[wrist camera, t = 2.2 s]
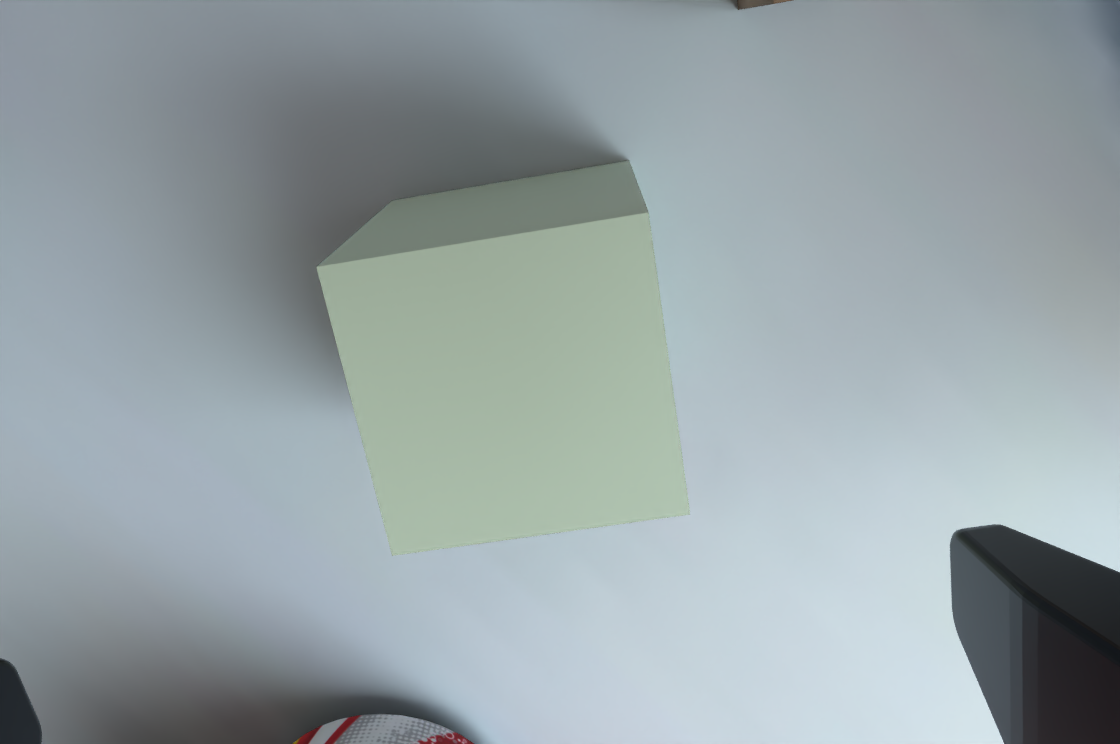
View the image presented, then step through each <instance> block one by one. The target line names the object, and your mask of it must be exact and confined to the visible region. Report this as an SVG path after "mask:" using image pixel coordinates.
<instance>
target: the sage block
mask: <svg viewBox="0 0 1120 744" xmlns="http://www.w3.org/2000/svg"><path fill="white" fill-rule="evenodd" d="M316 268H317V272H318V276H319V279H320V283H321V287H322V291H323V295H324V298H325V302H326V306H327V310H328V314H329V318H330V321H331V325H332V329H333V333H334V337H335V340H336V344H337V348H338V352H339V356H340V359H341V363H342V367H343V371H344V375H345V378H346V382H347V386H348V390H349V394H350V397H351V401H352V405H353V409H354V413H355V416H356V420H357V424H358V428H359V432H360V435H361V439H362V443H363V447H364V451H365V454H366V458H367V462H368V466H369V470H370V473H371V477H372V481H373V485H374V489H375V492H376V496H377V500H378V504H379V508H380V511H381V515H382V519H383V523H384V527H385V530H386V534H387V538H388V542H389V546H390V549H391V553H392V556H394V555H402V554H409V553H416V552H423V551H430V550H438V549H445V548H452V547H459V546H466V545H474V544H481V543H488V542H495V541H502V540H510V539H517V538H524V537H531V536H539V535H546V534H553V533H560V532H567V531H575V530H582V529H589V528H596V527H603V526H611V525H618V524H625V523H632V522H639V521H647V520H654V519H661V518H668V517H676V516H683V515H690V510H689V503H688V495H687V488H686V481H685V474H684V466H683V459H682V452H681V445H680V437H679V430H678V423H677V416H676V408H675V401H674V394H673V387H672V379H671V372H670V365H669V358H668V350H667V343H666V336H665V329H664V321H663V314H662V307H661V300H660V292H659V285H658V278H657V271H656V263H655V256H654V249H653V242H652V234H651V227H650V220H649V213H648V210H647V207H646V204H645V202H644V199H643V196H642V194H641V191H640V188H639V186H638V183H637V180H636V178H635V175H634V172H633V170H632V167H631V164H630V162H629V160H628V161H622V162H617V163H611V164H605V165H599V166H593V167H587V168H581V169H575V170H569V171H563V172H557V173H551V174H546V175H540V176H534V177H528V178H522V179H516V180H510V181H504V182H498V183H492V184H486V185H480V186H475V187H469V188H463V189H457V190H451V191H445V192H439V193H433V194H427V195H421V196H415V197H409V198H404V199H398V200H392V201H391V202H390V203H389V204H388V205H386V206H385V207H384V208H383V209H382V210H381V211H380V212H378V213H377V214H376V215H375V216H374V217H373V218H372V219H370V220H369V221H368V222H367V223H366V224H365V225H364V226H362V227H361V228H360V229H359V230H358V231H357V232H356V233H354V234H353V235H352V236H351V237H350V238H349V239H348V240H347V241H345V242H344V243H343V244H342V245H341V246H340V247H339V248H337V249H336V250H335V251H334V252H333V253H332V254H331V255H329V256H328V257H327V258H326V259H325V260H324V261H323V262H321V263H320V264H319V265H318V266H317V267H316Z"/></svg>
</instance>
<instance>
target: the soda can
mask: <svg viewBox="0 0 1120 744" xmlns="http://www.w3.org/2000/svg"><path fill="white" fill-rule="evenodd" d="M293 744H474V743H472V742H471V741H469V740H468V739H466V738H465V737H463V736H462V735H460V734H458V733H456V732H454V731H452V730H450V729H448V728H445V727H443V726H441V725H438V724H435V723H432V722H429V721H426V720H423V719H418V718H413V717H408V716H402V715H389V714H371V715H358V716H353V717H348V718H343V719H339V720H336V721H333V722H330V723H327V724H324V725H322V726H319V727H318V728H316V729H314V730H312V731H310V732H308V733H306V734H304V735H303V736H302V737H300V738H299V739H298V740H296V741H295V742H294V743H293Z"/></svg>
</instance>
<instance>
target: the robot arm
mask: <svg viewBox="0 0 1120 744" xmlns="http://www.w3.org/2000/svg"><path fill="white" fill-rule="evenodd" d="M950 563H951V592H952V612H953V618H954V623H955V627H956V630H957V633H958V636H959V639H960V641H961V643H962V646H963V648H964V650H965V653H966V655H967V657H968V660H969V662H970V664H971V667H972V669H973V671H974V674H975V676H976V678H977V681H978V683H979V685H980V688H981V690H982V692H983V695H984V697H985V699H986V702H987V704H988V707H989V709H990V711H991V714H992V716H993V718H994V721H995V723H996V725H997V728H998V730H999V732H1000V735H1001V737H1002V739H1003V742H1004V744H1120V572H1118V571H1115V570H1113V569H1110V568H1108V567H1105V566H1103V565H1100V564H1098V563H1095V562H1093V561H1090V560H1088V559H1085V558H1083V557H1080V556H1078V555H1075V554H1073V553H1070V552H1068V551H1065V550H1063V549H1060V548H1058V547H1056V546H1053V545H1051V544H1048V543H1046V542H1043V541H1041V540H1038V539H1036V538H1033V537H1031V536H1028V535H1026V534H1023V533H1021V532H1018V531H1016V530H1013V529H1011V528H1008V527H1006V526H1003V525H995V524H993V525H986V526H979V527H971V528H964V529H960V530H957V531H956V532H955V533H954V534H953V535H952V538H951V542H950ZM41 742H42V732H41V725H40V722H39V720H38V718H37V715H36V713H35V711H34V708H33V706H32V704H31V702H30V699H29V697H28V695H27V693H26V690H25V688H24V686H23V683H22V681H21V679H20V677H19V674H18V672H17V670H16V668H15V667H14V666H13V665H12V664H11V663H10V662H9V661H7V660H4V659H1V658H0V744H41Z"/></svg>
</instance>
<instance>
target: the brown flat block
mask: <svg viewBox="0 0 1120 744" xmlns="http://www.w3.org/2000/svg"><path fill="white" fill-rule="evenodd" d="M786 1H792V0H737V4H738V10H739V9H745V8H751V7H757V6H763V5H769V4H775V3H781V2H786Z"/></svg>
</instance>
